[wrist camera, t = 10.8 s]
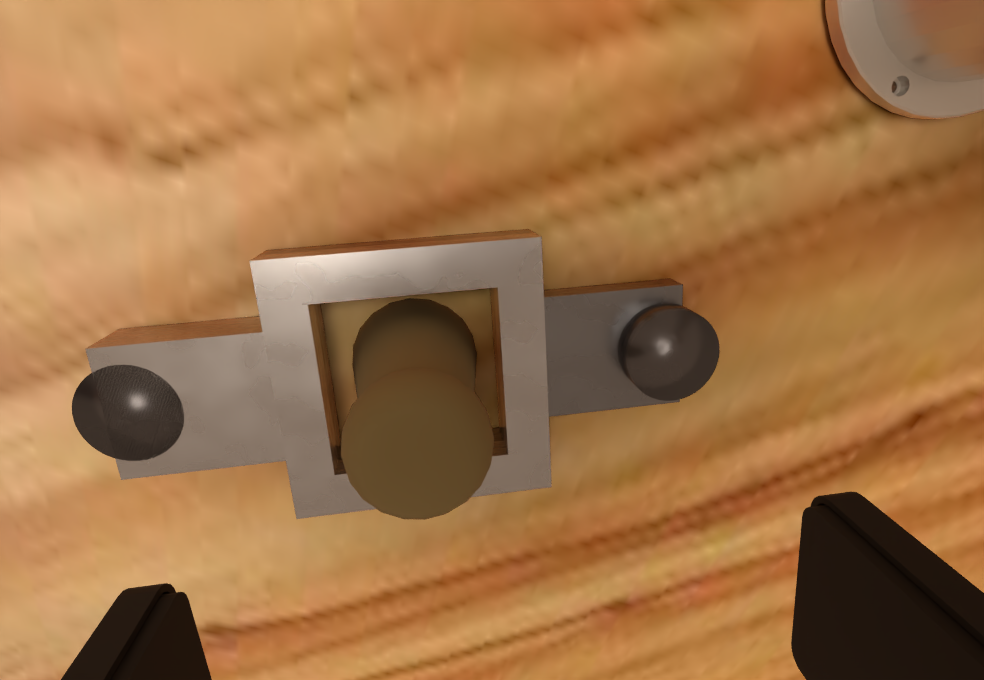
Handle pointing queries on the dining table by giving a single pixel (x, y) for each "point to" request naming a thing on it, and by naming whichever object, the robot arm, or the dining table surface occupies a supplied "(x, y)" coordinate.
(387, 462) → the cork
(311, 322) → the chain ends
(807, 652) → the robot arm
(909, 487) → the dining table surface
